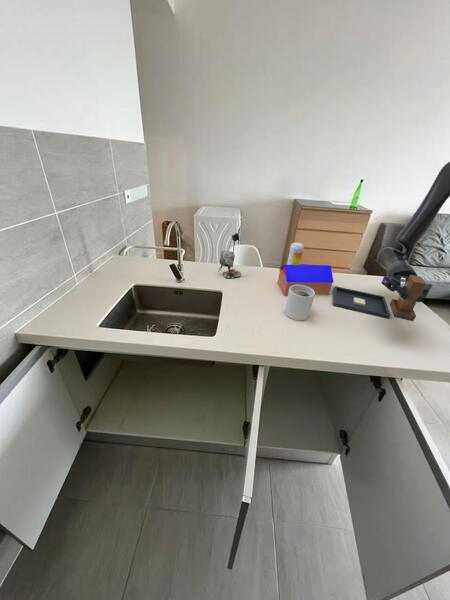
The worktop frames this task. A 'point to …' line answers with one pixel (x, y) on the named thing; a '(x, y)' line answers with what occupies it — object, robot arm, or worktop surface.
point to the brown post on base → (408, 299)
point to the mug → (299, 302)
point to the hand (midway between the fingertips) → (413, 297)
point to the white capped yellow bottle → (295, 254)
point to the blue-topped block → (306, 278)
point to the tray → (372, 305)
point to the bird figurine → (229, 260)
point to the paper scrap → (359, 301)
